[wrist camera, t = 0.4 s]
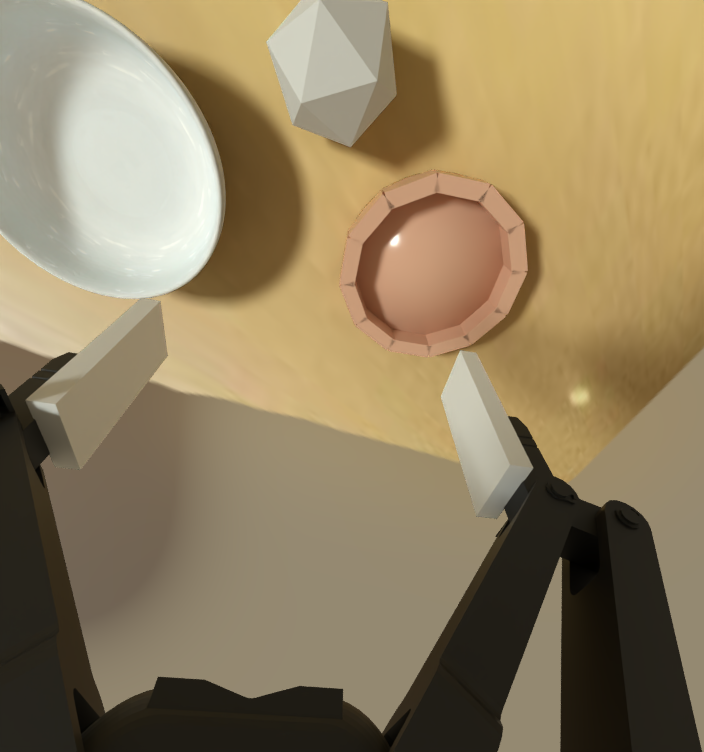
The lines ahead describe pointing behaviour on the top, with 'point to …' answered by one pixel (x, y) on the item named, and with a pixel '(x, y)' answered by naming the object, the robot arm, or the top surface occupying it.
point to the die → (335, 66)
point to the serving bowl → (102, 154)
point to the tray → (433, 263)
